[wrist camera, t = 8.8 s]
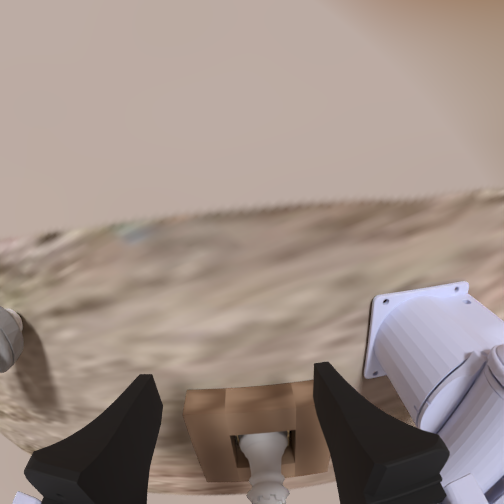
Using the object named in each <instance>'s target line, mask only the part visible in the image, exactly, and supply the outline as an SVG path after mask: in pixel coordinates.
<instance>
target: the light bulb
mask: <svg viewBox="0 0 504 504" xmlns="http://www.w3.org/2000/svg"><path fill="white" fill-rule="evenodd" d="M22 328H23V325H22V320H21V318H20V316H19V315H18V314H17V313H16V312H15V311H14V310H12V309H4V308H2V307H1V306H0V373H4V372H6V371H7V370H8V369H9V368H10V367H11V366H12V365H13V364H14V363H15V362H16V360H17V359H18V357H19V356H20V354H21V353H22V350H23V347H24V340H23V335H22V332H21V331H22Z"/></svg>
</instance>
